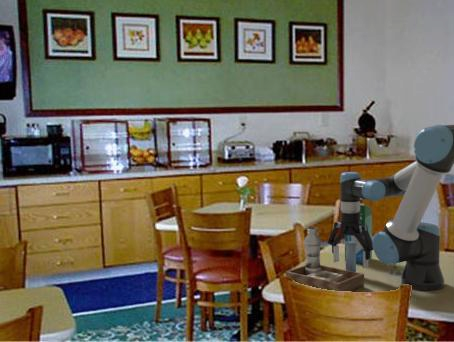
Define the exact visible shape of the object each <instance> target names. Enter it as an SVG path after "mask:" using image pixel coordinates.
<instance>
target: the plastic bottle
mask: <svg viewBox="0 0 454 342" xmlns="http://www.w3.org/2000/svg"><path fill="white" fill-rule="evenodd" d="M303 244H304V251H305V265H306V267H305V275H309V274H312V273H315V272H317V271H320V270H321V266H320V265H321V247H322V246H321V245H322V241H321V239H320V237H319V236H318V227H307V235H306V237H305V238H304V240H303Z"/></svg>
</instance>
